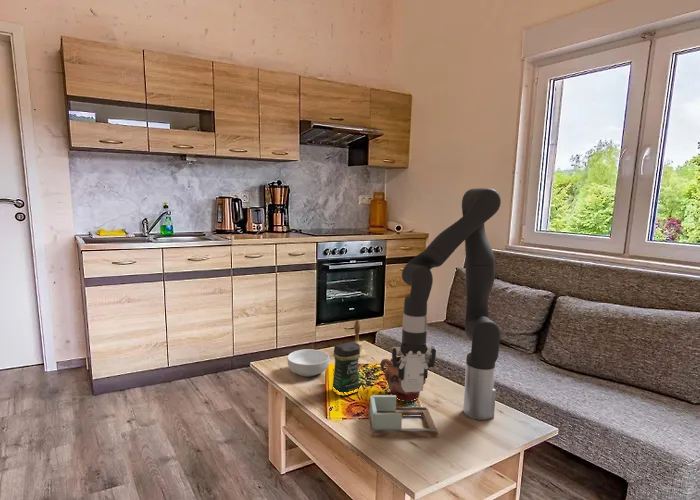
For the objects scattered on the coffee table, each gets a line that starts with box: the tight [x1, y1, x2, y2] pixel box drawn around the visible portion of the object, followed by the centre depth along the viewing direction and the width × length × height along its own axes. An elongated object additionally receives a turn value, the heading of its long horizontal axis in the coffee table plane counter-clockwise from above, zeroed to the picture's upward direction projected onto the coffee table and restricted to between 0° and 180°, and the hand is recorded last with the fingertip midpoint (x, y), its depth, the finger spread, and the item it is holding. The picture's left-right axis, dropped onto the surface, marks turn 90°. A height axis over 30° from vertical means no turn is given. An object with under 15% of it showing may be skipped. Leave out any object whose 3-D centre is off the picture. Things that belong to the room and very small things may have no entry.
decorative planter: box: [380, 355, 427, 401], centre depth 156 cm, size 20×12×14 cm, turn 51°
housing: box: [369, 394, 403, 430], centre depth 136 cm, size 9×13×5 cm
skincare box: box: [401, 353, 426, 392], centre depth 135 cm, size 6×4×12 cm
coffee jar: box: [332, 340, 360, 393], centre depth 158 cm, size 10×8×19 cm
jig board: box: [367, 406, 439, 439], centre depth 137 cm, size 20×15×2 cm
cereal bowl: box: [287, 348, 330, 378], centre depth 175 cm, size 17×17×7 cm
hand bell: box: [353, 319, 367, 358], centre depth 196 cm, size 8×8×16 cm
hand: (412, 379), depth 135 cm, fingers closed on skincare box, 6 cm apart
